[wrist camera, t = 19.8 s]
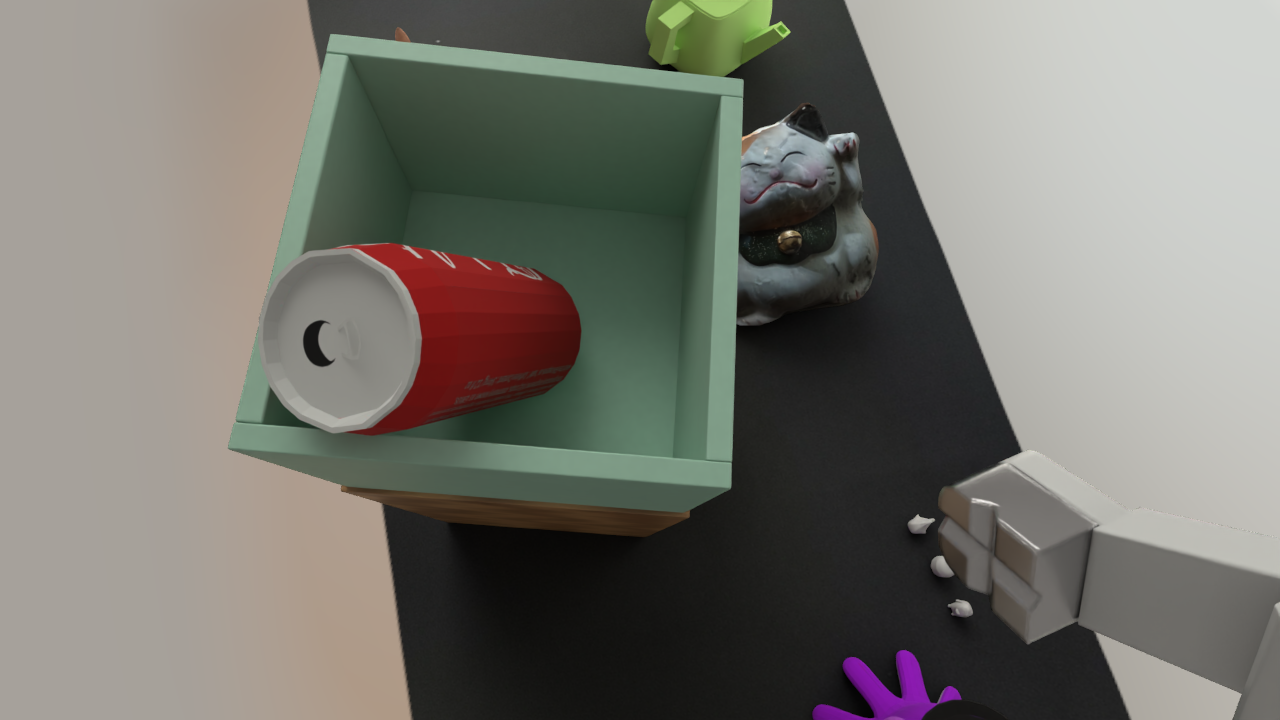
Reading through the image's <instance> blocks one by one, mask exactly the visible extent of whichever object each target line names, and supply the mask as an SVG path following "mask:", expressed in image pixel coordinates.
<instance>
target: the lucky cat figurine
mask: <svg viewBox="0 0 1280 720" xmlns="http://www.w3.org/2000/svg"><path fill="white" fill-rule="evenodd" d="M858 147H859V138H858V136H857V135H856V134H855V133H847V134H838V135H828V133H827V129H826V127H825V123H824V121H823V119H822V116H821V114H820V112H819V111H818V109H817V108H816V107H815V106H814V105H811V104H809V103H801V105H799V107H798V108H797V109H796V110H795V111H794V112H792V113H790V114H789V115H788V116H786V117H785V118H783V119H782V120H780V121H779V122H777V123H776V124H774V125H771V126H767V127H763V128H760V129H758V130H756V131H754V132H753V133H751V134H750V135H748V136H745V137H742V150H741V182H740V215H739V248H738V280H737V313H736V324H738V325H762V324H764V323H769V322H771V321H773V320H776V319H778V318H780V317H782V316H785V315H788V314H792V313H795V312H799V311H806V310H812V309H819V308H826V307H834V306H842V305H845V304H849V303H852V302H854V301H856V300H858V299H859V298H860V297H862V296H863V295H864V294H865V292H866V291H867V290H868V289H869V288H870V285H871V282H872V279H873V276H874V273H875V269H876V263H877V258H878V251H879V246H878V239H877V233H876V229H875V227H874V225H873V224H872V222H871V221H870V220H869V219H868V218H867V216H866V215H865V213H864V212H863V210H862V207H861V201H862V195H863V188H862V181H861V176H860V171H859V165H858Z"/></svg>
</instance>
